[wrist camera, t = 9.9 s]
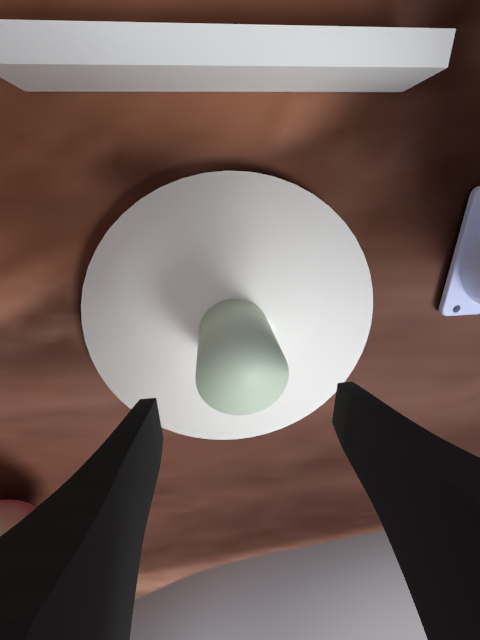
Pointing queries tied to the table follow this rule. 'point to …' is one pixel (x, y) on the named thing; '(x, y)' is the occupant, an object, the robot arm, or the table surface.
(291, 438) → the table surface
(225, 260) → the white plate
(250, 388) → the green cylinder
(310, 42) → the light grey rectangular bar
